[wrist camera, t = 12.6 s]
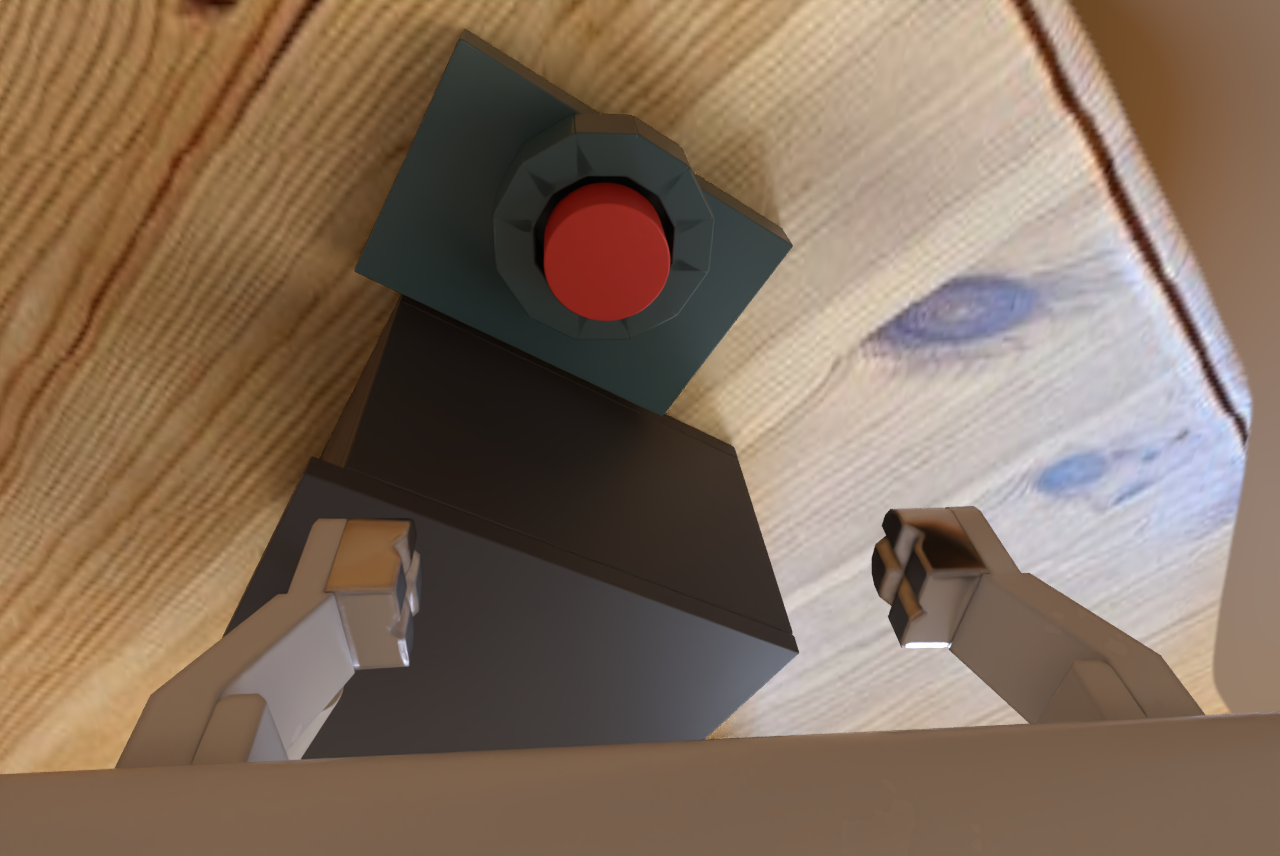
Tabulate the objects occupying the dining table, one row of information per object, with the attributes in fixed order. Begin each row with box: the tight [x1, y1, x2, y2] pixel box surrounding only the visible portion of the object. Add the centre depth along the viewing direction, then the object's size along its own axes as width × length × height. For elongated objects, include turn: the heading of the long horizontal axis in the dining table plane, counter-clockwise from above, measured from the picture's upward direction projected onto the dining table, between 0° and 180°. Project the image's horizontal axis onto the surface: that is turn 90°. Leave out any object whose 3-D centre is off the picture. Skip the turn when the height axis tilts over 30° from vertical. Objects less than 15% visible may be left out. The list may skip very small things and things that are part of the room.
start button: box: [544, 182, 670, 321], centre depth 23 cm, size 4×4×2 cm
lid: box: [222, 457, 799, 760], centre depth 23 cm, size 15×12×4 cm
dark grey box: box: [319, 294, 792, 635], centre depth 28 cm, size 15×12×10 cm
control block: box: [354, 29, 793, 416], centre depth 25 cm, size 12×9×4 cm
